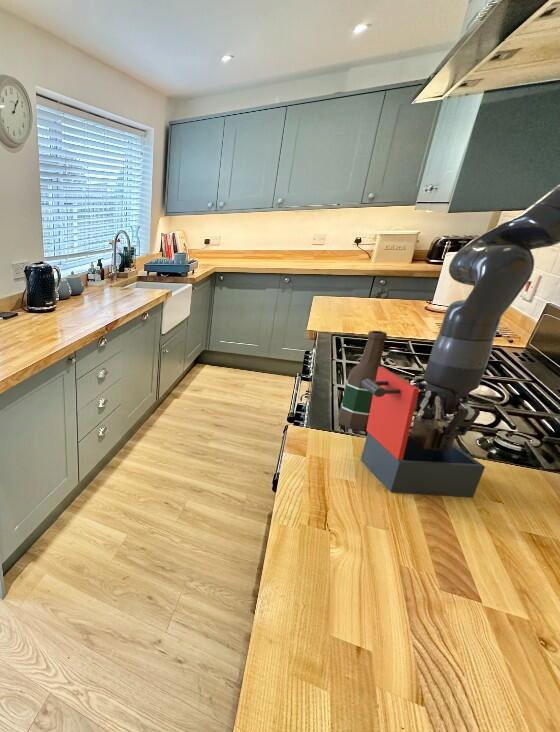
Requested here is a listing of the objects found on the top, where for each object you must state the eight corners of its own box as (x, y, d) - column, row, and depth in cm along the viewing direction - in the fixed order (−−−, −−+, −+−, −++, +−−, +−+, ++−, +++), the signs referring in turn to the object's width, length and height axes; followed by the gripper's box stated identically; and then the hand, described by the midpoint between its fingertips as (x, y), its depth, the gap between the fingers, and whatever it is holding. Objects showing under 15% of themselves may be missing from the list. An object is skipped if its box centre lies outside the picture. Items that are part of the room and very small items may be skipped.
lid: (382, 366, 83) (354, 367, 84) (419, 388, 72) (386, 389, 73) (370, 430, 88) (343, 430, 89) (402, 460, 77) (372, 459, 78)
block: (409, 437, 83) (415, 417, 82) (434, 438, 83) (441, 418, 81) (423, 449, 79) (430, 428, 78) (450, 450, 78) (458, 429, 77)
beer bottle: (367, 434, 100) (392, 338, 91) (331, 423, 106) (352, 332, 97) (379, 424, 104) (404, 331, 95) (344, 414, 110) (365, 326, 101)
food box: (432, 463, 88) (441, 435, 86) (473, 497, 77) (485, 466, 75) (360, 459, 91) (367, 432, 88) (390, 492, 80) (399, 462, 78)
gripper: (515, 374, 67) (480, 464, 74) (453, 348, 80) (427, 426, 87) (461, 373, 69) (431, 461, 75) (409, 348, 82) (387, 425, 88)
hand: (429, 442), depth 81 cm, fingers closed on block, 4 cm apart
